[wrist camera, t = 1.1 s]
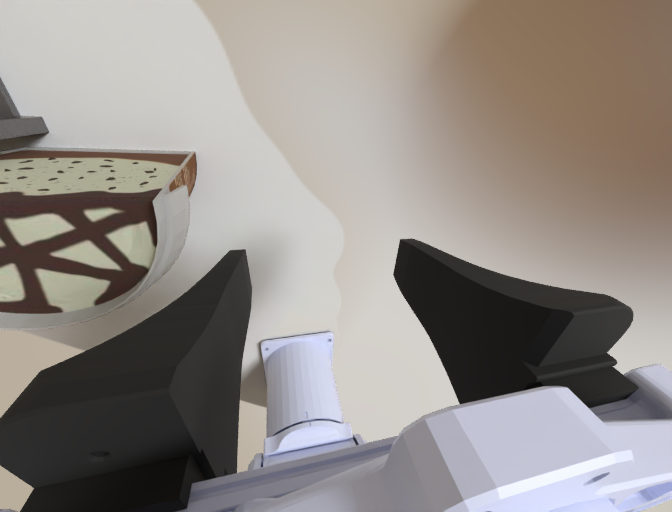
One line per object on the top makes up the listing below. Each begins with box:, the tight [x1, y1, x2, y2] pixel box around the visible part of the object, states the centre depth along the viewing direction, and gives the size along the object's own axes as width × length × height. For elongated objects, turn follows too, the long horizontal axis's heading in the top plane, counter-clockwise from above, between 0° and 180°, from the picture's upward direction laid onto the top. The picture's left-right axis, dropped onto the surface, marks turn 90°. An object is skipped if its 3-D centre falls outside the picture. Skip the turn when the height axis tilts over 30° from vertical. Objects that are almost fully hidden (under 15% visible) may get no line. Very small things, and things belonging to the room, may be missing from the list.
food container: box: [0, 147, 197, 330], centre depth 14 cm, size 12×6×10 cm, turn 86°
